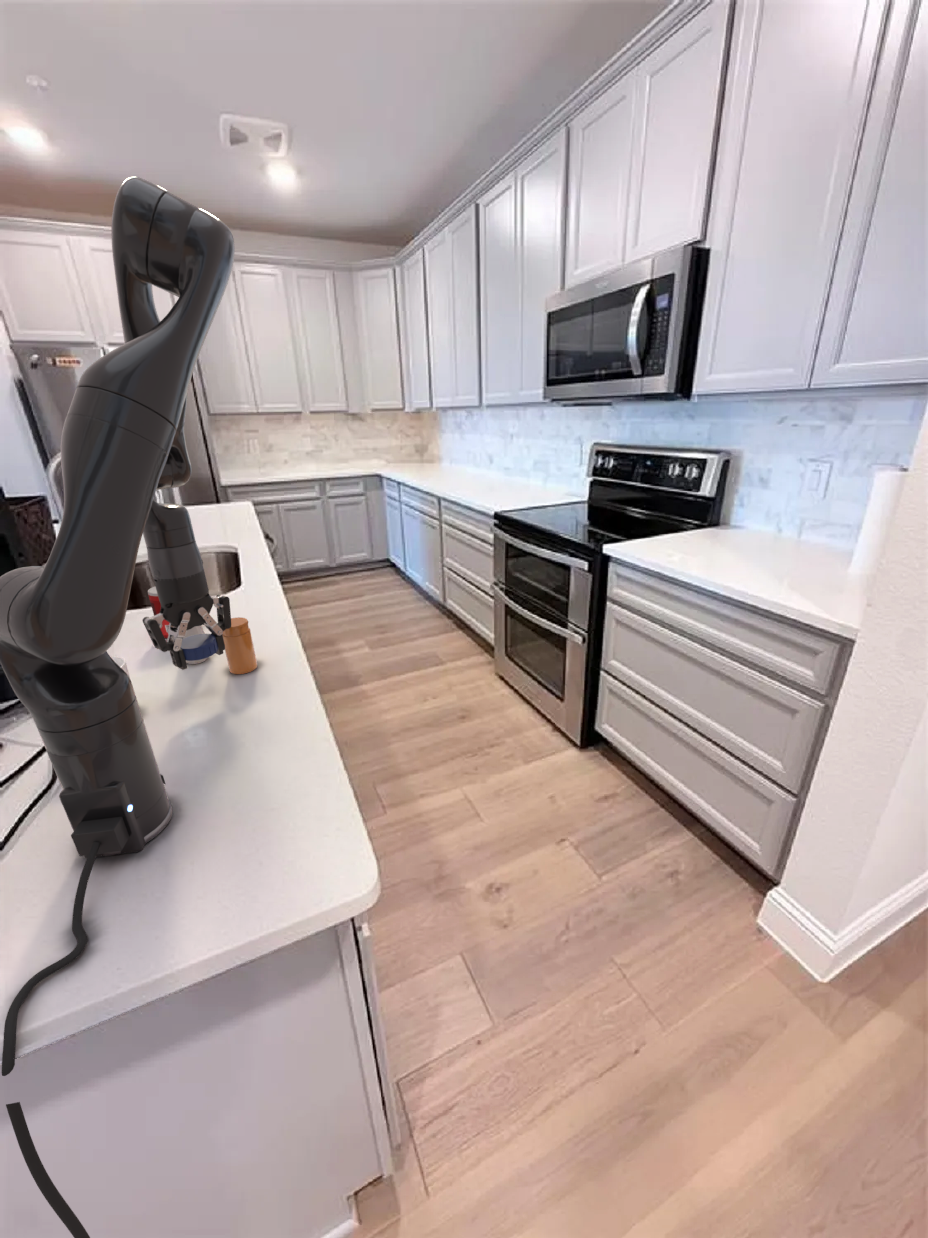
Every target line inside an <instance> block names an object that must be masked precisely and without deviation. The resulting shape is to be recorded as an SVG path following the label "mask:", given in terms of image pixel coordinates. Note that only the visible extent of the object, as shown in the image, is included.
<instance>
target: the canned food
mask: <svg viewBox="0 0 928 1238" xmlns="http://www.w3.org/2000/svg"><path fill="white" fill-rule="evenodd" d="M147 595H148V599H149V602H150V606H151V610H152V613H153V616H155V615H157V614H159V613H160V610H161V604H160V601H159V598H158V594H157V590H156V587H155V585H154V586H152V587H150V588H149V589H148V590H147ZM162 624H163V626H162V628H160V629H161V631H162V633H163V635H164V638H165V639H168V628H169V622H168V621H166V620H165V619H164V620H163V621H162ZM177 630H178V628H177Z"/></svg>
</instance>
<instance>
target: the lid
mask: <svg viewBox="0 0 928 1238" xmlns="http://www.w3.org/2000/svg"><path fill="white" fill-rule="evenodd" d="M181 649H182V650H183V652H184V656H185V660H187V661H195V660H201V659H205V658H207V659H209V658H210V657H212V656H214V655H215V654H216V652H217V651H218V645H217V641H216V638H215V636H214V635H212V634H211V633H205V634H196V635H192V636H188V637H186V638H184V639H183V640H182V644H181Z"/></svg>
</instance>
